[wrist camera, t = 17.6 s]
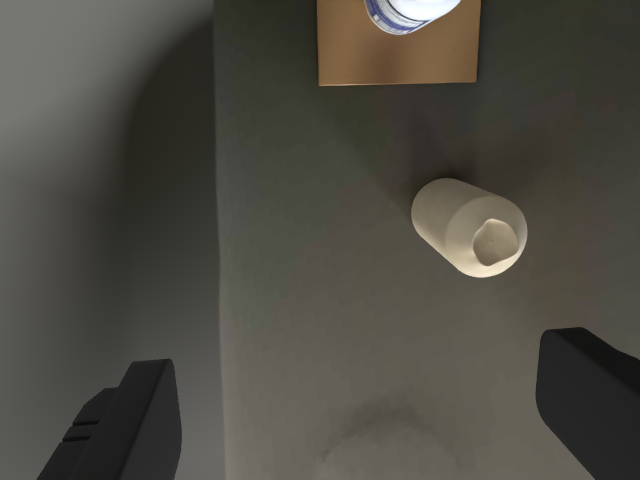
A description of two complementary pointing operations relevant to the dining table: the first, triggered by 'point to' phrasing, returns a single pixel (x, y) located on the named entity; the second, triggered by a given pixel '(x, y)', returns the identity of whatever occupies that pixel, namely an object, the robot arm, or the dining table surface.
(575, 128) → the dining table surface
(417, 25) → the pill bottle
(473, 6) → the cork mat
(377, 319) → the dining table surface
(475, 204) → the candle
